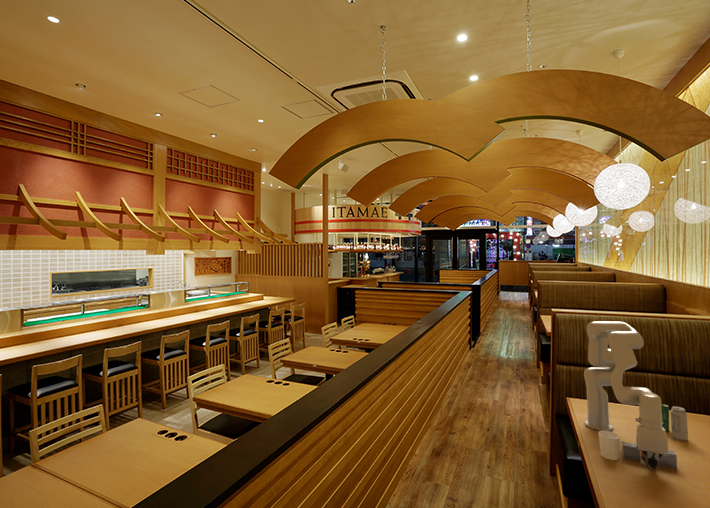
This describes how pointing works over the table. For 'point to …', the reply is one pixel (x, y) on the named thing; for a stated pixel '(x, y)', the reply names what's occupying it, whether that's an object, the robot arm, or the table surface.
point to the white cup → (609, 444)
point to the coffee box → (665, 417)
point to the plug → (646, 459)
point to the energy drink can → (679, 423)
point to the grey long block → (633, 454)
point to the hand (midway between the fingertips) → (652, 466)
